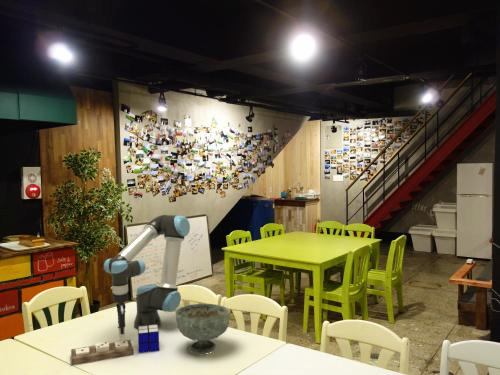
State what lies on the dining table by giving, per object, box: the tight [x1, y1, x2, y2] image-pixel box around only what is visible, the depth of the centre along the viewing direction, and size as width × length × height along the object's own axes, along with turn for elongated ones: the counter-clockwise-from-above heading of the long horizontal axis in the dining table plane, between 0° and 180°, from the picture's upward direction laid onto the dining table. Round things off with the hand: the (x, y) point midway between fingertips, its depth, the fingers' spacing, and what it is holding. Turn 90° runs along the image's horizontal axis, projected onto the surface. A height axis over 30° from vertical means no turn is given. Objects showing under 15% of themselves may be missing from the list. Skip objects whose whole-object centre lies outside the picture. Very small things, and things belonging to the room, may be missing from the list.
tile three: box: [94, 341, 110, 353], centre depth 208 cm, size 6×6×3 cm
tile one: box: [75, 346, 89, 356], centre depth 205 cm, size 6×6×3 cm
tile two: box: [115, 340, 129, 350], centre depth 212 cm, size 6×6×3 cm
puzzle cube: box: [137, 325, 160, 354], centre depth 216 cm, size 10×10×10 cm
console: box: [70, 339, 135, 366], centre depth 208 cm, size 28×12×3 cm, turn 113°
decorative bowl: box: [175, 303, 231, 355], centre depth 214 cm, size 26×26×20 cm
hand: (122, 339), depth 212 cm, fingers closed
